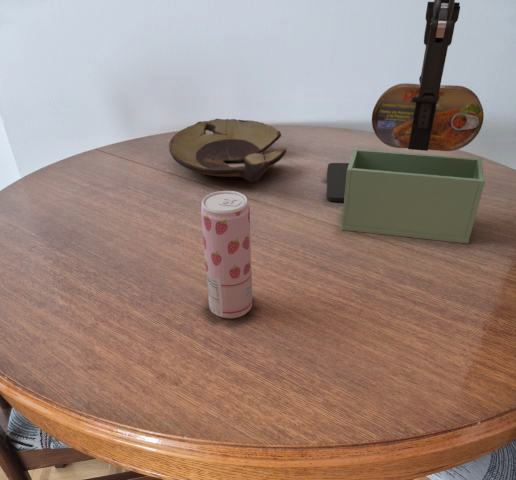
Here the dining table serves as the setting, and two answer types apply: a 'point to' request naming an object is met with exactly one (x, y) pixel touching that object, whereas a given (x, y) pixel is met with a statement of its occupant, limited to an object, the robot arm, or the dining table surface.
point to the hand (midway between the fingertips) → (418, 144)
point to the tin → (445, 119)
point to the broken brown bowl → (226, 148)
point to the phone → (336, 181)
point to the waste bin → (412, 195)
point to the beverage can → (227, 253)
